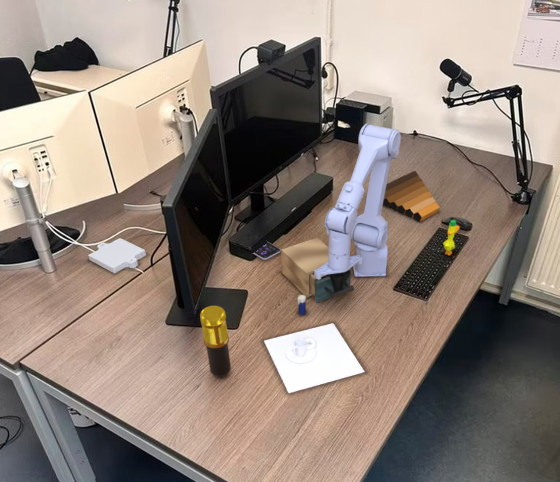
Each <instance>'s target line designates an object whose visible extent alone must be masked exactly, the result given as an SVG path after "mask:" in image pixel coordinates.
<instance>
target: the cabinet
mask: <svg viewBox="0 0 560 482" xmlns="http://www.w3.org/2000/svg"><path fill="white" fill-rule="evenodd" d="M280 250H281V252H280V255H281V273H282V274H283V275H284V276H285V278H287V280H288V281H289V282H290V283H292V285H294V286H295V287H296V288H297V290H299V292H301V293H302V295H304V296H306V298H309V297H312V296H313V295H312V294H311V293H310V292H309V275H310V274H312V273H314V270H317V269H319V268H320V267H322V266H323V265H324V264H326V263H327V262H328V254H329V246H328V245H327V244H325V243H324V242H323V241H322V240H321V239H319V238H318V237H313V238H312V239H308V240H305V241H302V242H299V243H297V244H293V245H291V246H287V247H285V248H280Z"/></svg>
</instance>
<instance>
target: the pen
mask: <svg viewBox="0 0 560 482" xmlns="http://www.w3.org/2000/svg"><path fill="white" fill-rule="evenodd" d="M296 301H297V305H298V314H299V315H301V316H302V315H306V312H307V306H306V305H307V297H306V296H305V295H304V294H300V295H298V296H297V299H296Z"/></svg>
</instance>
